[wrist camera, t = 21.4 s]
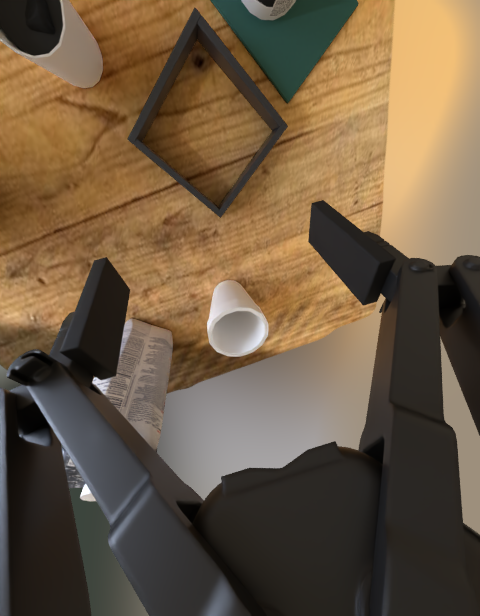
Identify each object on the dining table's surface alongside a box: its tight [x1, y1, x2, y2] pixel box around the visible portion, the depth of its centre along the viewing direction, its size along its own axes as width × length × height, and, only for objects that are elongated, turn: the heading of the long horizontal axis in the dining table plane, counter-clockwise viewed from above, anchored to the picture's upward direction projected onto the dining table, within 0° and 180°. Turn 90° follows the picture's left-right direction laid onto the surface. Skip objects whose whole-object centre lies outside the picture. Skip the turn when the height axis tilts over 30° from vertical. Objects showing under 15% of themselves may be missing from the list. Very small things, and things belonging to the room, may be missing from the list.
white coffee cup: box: [0, 0, 103, 88], centre depth 21 cm, size 7×7×10 cm
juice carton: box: [62, 318, 173, 501], centre depth 36 cm, size 9×10×27 cm
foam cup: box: [207, 280, 268, 356], centre depth 39 cm, size 10×9×13 cm
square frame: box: [128, 8, 288, 218], centre depth 30 cm, size 15×15×4 cm
